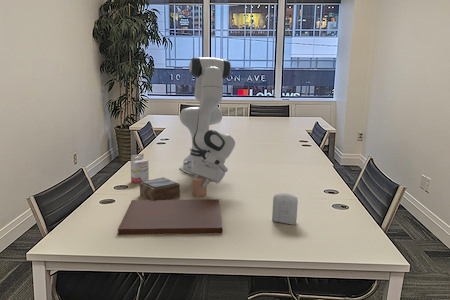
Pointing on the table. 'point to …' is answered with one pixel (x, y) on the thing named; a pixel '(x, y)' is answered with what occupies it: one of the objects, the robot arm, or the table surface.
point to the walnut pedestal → (159, 189)
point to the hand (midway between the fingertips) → (198, 185)
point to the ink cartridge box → (139, 169)
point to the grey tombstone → (285, 208)
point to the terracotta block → (198, 187)
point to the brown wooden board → (172, 217)
